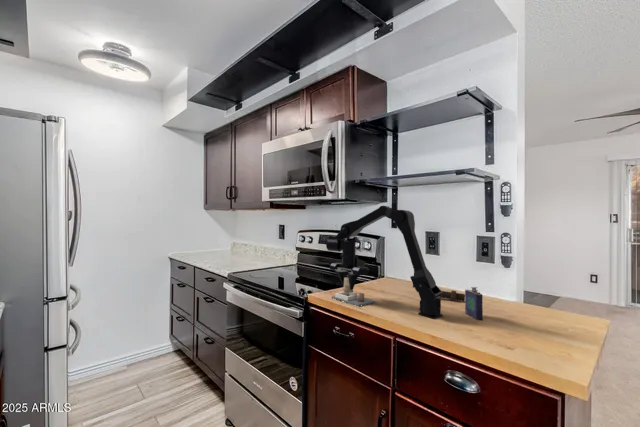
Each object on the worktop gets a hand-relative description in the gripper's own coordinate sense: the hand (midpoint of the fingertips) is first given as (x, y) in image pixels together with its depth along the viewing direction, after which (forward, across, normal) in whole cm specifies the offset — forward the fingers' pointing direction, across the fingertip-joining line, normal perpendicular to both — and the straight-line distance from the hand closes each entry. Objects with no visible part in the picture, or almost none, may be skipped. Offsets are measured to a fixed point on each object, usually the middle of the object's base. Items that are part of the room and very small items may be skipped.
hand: (348, 288), depth 134 cm
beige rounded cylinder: (+1, 0, 0) cm, 1 cm away
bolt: (+5, -25, -36) cm, 44 cm away
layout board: (+4, -3, 0) cm, 5 cm away
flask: (+5, -44, -21) cm, 49 cm away
